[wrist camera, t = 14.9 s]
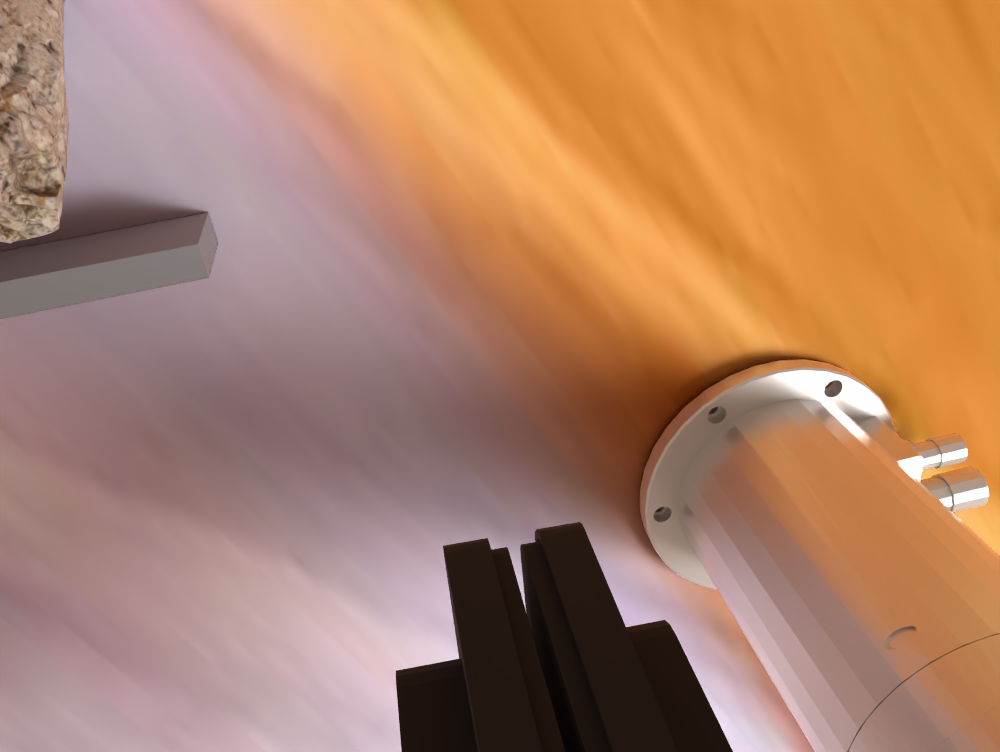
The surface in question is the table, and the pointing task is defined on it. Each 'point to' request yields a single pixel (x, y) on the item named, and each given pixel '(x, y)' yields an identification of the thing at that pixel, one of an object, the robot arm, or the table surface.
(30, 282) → the frame
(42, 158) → the rock
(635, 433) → the table surface
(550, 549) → the robot arm
